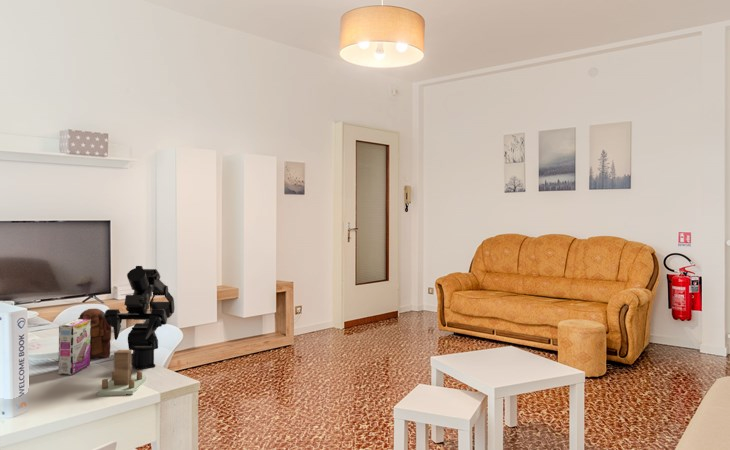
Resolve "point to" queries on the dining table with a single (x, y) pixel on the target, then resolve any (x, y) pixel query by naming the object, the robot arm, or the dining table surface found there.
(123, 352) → the brown wooden block
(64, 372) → the candy bar box
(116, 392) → the peg stand
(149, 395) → the dining table surface
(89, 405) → the dining table surface
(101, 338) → the wooden figurine
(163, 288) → the robot arm
